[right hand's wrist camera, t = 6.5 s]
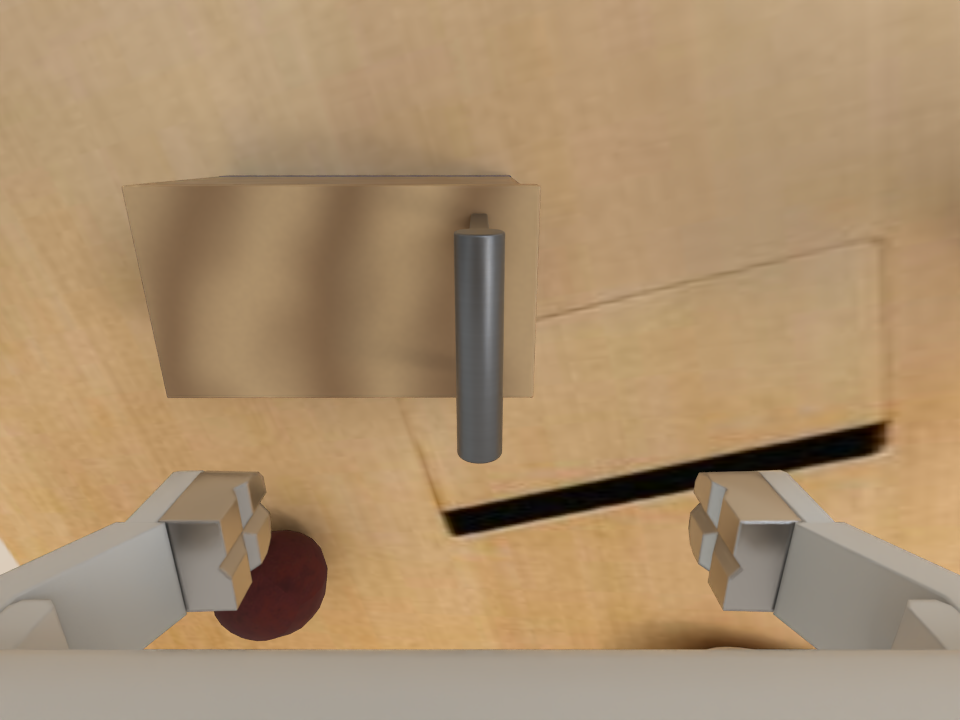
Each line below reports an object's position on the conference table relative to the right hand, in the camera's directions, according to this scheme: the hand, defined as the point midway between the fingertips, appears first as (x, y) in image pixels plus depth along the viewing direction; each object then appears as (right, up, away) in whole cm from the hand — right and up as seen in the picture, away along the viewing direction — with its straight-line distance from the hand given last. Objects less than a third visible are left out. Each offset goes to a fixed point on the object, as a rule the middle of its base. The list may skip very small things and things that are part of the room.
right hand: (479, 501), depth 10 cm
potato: (-14, -12, +32) cm, 37 cm away
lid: (-6, +6, +16) cm, 18 cm away
